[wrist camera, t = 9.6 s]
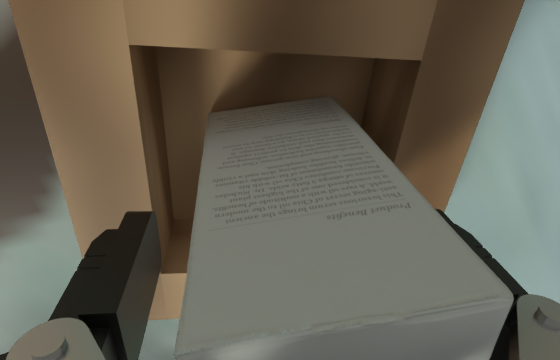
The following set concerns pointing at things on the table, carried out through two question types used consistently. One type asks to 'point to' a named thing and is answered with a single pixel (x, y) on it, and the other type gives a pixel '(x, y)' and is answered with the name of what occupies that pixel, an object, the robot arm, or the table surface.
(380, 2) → the holder
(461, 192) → the table surface
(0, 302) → the table surface
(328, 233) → the skincare box
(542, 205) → the table surface
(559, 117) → the table surface
